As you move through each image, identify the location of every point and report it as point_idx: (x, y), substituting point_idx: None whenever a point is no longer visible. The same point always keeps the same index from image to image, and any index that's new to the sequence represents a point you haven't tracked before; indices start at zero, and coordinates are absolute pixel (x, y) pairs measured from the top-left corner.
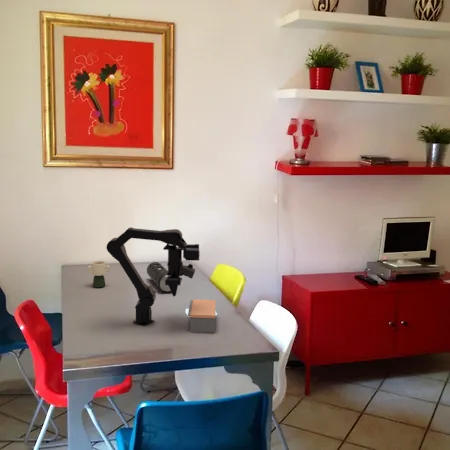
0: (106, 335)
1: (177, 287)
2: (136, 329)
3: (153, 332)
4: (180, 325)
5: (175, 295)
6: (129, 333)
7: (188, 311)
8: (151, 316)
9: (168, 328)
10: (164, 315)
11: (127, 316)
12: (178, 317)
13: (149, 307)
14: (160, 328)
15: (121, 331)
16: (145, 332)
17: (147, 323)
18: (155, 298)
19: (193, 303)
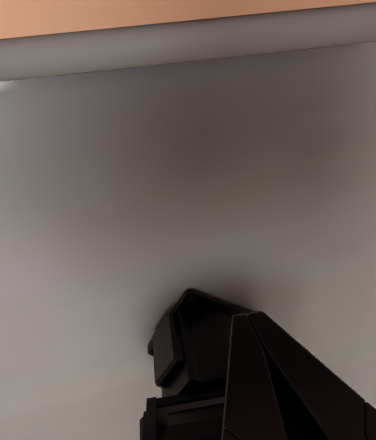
0: (369, 394)
1: (260, 434)
2: (306, 327)
3: (353, 246)
4: (229, 112)
5: (268, 318)
6: (356, 336)
7: (359, 42)
8: (175, 324)
9: (291, 183)
10: (48, 264)
11: (129, 409)
12: (54, 164)
13: (196, 387)
14: (292, 228)
15: (329, 368)
16: (349, 281)
17: (239, 309)
18: (178, 432)
19: (39, 14)
